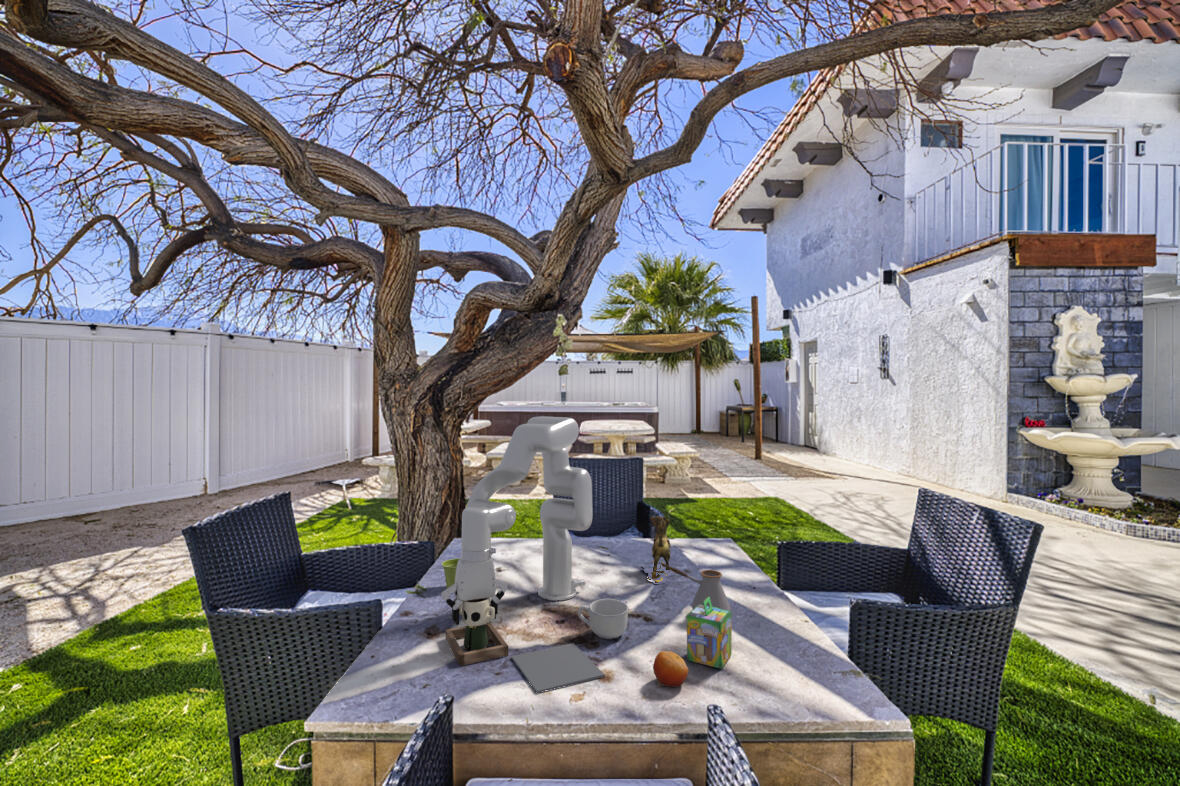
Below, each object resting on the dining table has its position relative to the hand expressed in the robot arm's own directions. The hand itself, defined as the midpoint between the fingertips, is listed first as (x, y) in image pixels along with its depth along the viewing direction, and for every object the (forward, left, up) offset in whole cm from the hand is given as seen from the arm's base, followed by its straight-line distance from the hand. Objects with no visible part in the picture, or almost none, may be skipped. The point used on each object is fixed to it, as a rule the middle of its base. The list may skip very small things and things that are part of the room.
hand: (475, 620), depth 147 cm
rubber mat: (-15, +19, -7) cm, 25 cm away
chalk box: (-52, +31, -8) cm, 61 cm away
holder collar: (0, 0, -7) cm, 7 cm away
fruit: (-36, +37, -8) cm, 52 cm away
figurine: (-76, -30, -8) cm, 82 cm away
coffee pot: (-65, +7, -8) cm, 66 cm away
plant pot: (-5, -46, -8) cm, 47 cm away
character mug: (0, 0, -8) cm, 8 cm away
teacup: (-34, +7, -8) cm, 36 cm away
